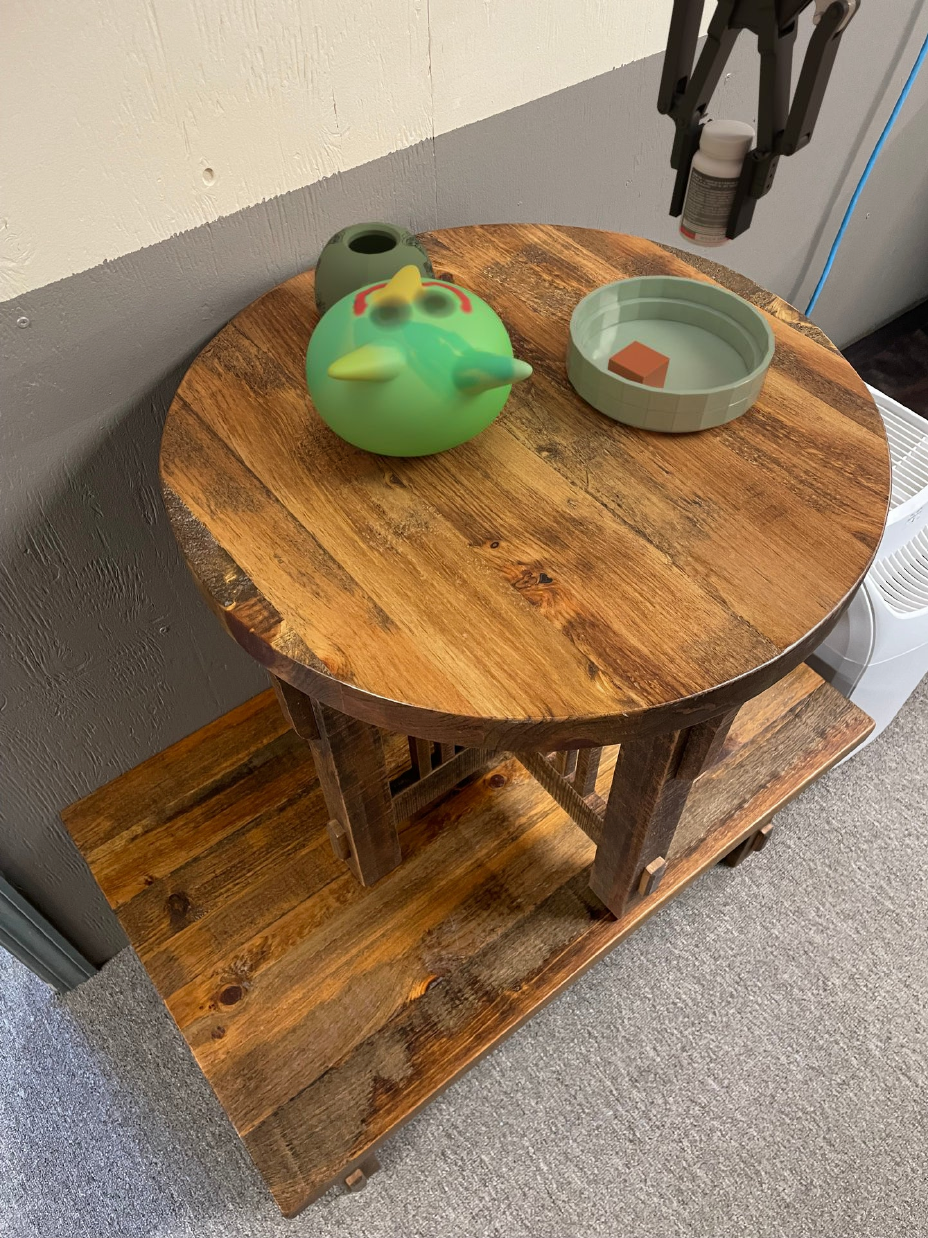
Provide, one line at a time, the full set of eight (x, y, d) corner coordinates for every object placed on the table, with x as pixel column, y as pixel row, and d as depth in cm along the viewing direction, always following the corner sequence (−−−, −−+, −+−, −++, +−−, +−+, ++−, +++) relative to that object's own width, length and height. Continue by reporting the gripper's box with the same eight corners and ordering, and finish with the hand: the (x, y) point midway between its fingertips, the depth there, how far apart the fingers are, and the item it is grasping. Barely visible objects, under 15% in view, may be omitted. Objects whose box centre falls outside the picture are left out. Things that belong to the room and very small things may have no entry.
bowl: (795, 369, 86) (811, 325, 82) (692, 467, 78) (704, 423, 74) (636, 297, 94) (644, 254, 90) (525, 379, 85) (529, 334, 81)
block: (662, 393, 83) (670, 358, 80) (636, 412, 81) (643, 377, 78) (628, 375, 84) (635, 340, 81) (603, 394, 83) (608, 358, 79)
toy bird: (487, 368, 86) (492, 225, 75) (532, 482, 76) (546, 336, 65) (307, 392, 84) (283, 247, 72) (329, 513, 74) (305, 368, 62)
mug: (325, 282, 96) (315, 204, 89) (441, 285, 96) (440, 207, 89) (304, 370, 86) (291, 291, 79) (434, 373, 86) (432, 294, 79)
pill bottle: (738, 249, 72) (766, 143, 65) (681, 248, 72) (704, 143, 65) (728, 220, 75) (754, 116, 68) (674, 220, 75) (694, 116, 68)
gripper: (640, -156, 56) (596, 202, 74) (901, -107, 49) (781, 277, 67) (702, -174, 60) (646, 172, 78) (955, -131, 52) (827, 240, 71)
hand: (708, 220), depth 72 cm, fingers closed on pill bottle, 5 cm apart
